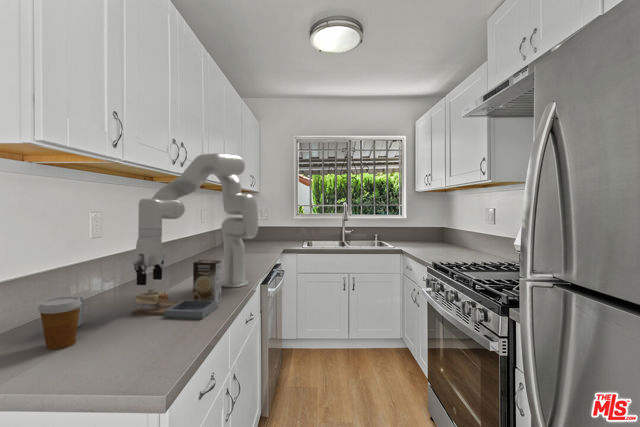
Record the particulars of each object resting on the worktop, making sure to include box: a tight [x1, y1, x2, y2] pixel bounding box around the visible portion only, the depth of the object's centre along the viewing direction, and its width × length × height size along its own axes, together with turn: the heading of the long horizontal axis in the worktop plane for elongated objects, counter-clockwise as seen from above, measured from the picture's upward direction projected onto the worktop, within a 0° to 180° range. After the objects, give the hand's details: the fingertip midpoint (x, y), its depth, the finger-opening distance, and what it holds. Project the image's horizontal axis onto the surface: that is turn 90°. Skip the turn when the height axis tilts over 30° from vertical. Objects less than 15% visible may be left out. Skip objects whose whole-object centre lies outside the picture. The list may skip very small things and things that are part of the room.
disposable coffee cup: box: [37, 296, 82, 351], centre depth 95 cm, size 10×10×12 cm
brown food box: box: [192, 259, 222, 304], centre depth 136 cm, size 9×6×16 cm
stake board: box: [131, 288, 182, 316], centre depth 128 cm, size 14×12×8 cm
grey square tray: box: [164, 299, 219, 320], centre depth 124 cm, size 13×13×2 cm
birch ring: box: [135, 290, 169, 305], centre depth 125 cm, size 7×9×2 cm
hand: (149, 282), depth 125 cm, fingers open, 9 cm apart
